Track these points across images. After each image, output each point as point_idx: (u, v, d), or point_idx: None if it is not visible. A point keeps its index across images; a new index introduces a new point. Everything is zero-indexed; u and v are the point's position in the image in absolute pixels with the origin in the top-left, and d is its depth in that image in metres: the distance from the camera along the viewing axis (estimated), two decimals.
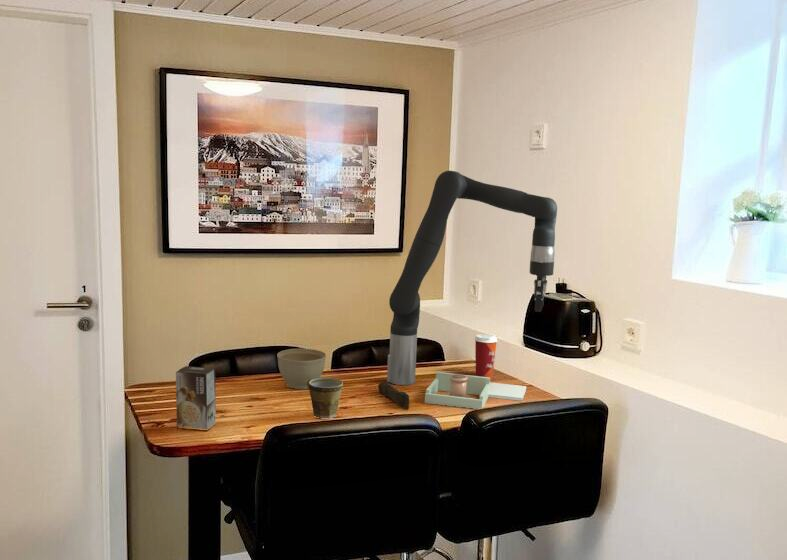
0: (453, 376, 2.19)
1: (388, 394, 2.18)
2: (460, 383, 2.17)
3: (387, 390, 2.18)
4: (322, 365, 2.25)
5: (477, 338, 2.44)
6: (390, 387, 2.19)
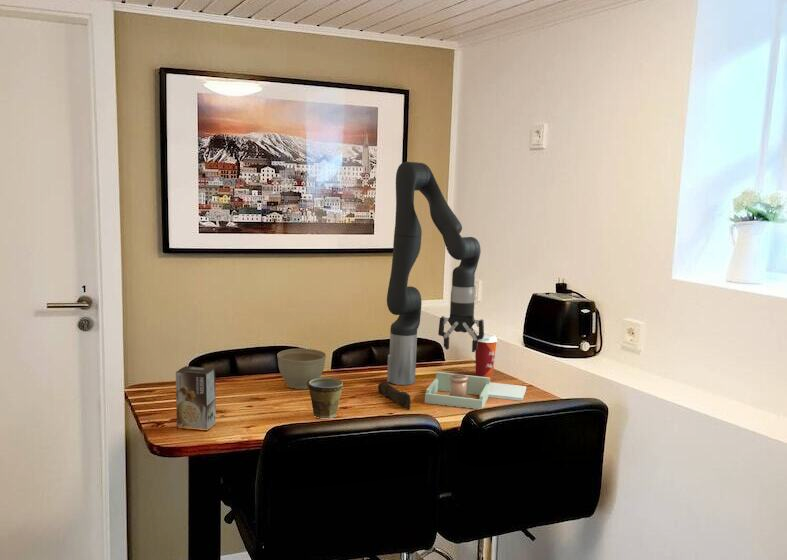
0: (453, 376, 2.19)
1: (388, 394, 2.18)
2: (460, 383, 2.17)
3: (387, 390, 2.18)
4: (322, 365, 2.25)
5: None
6: (390, 387, 2.19)
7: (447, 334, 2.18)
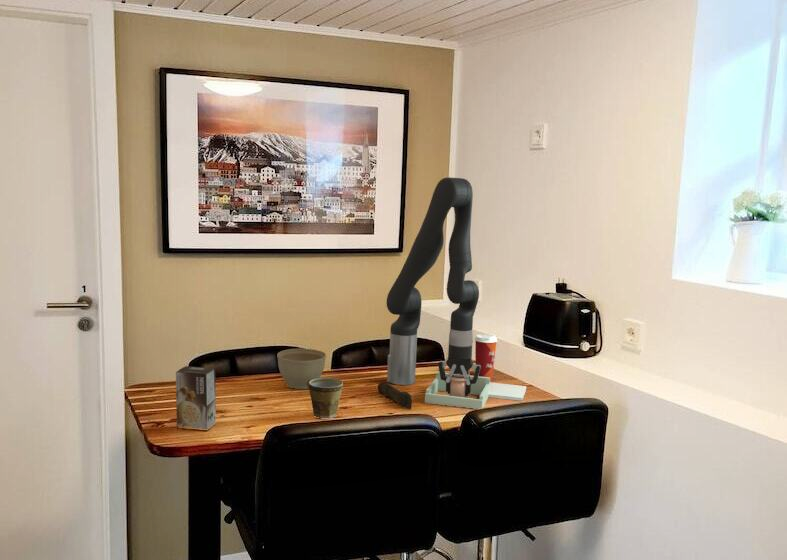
0: (453, 376, 2.19)
1: (389, 394, 2.18)
2: (460, 383, 2.17)
3: (388, 390, 2.18)
4: (322, 365, 2.25)
5: (477, 338, 2.44)
6: (390, 387, 2.19)
7: (449, 378, 2.19)
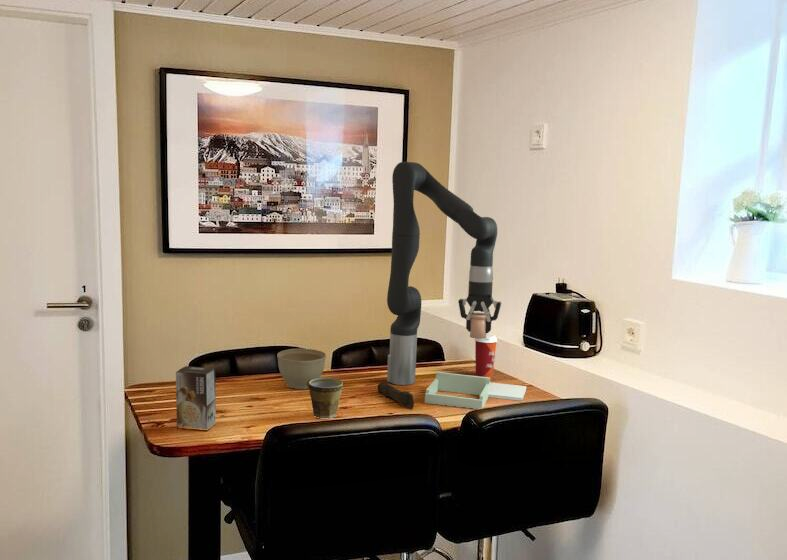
0: (473, 313, 2.19)
1: (389, 394, 2.18)
2: (480, 320, 2.17)
3: (388, 390, 2.18)
4: (322, 365, 2.25)
5: None
6: (391, 387, 2.19)
7: (469, 316, 2.20)
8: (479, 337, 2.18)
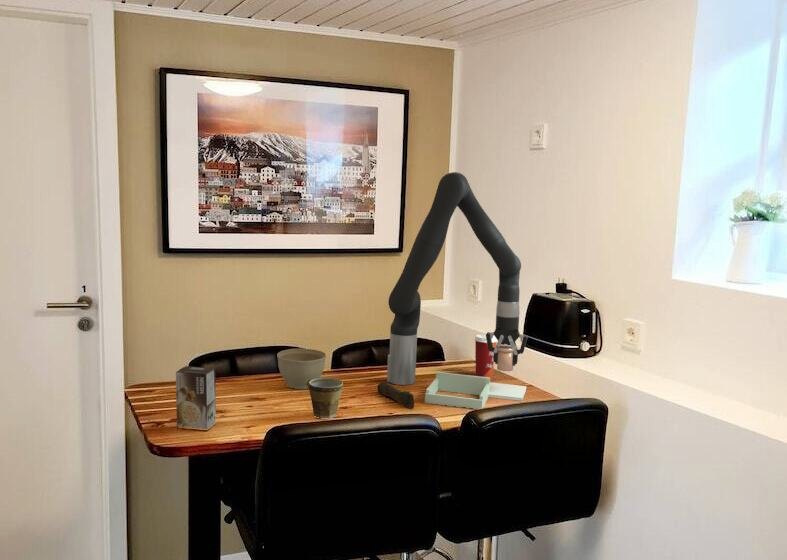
0: (500, 347, 2.27)
1: (389, 394, 2.18)
2: (508, 353, 2.25)
3: (388, 390, 2.18)
4: (322, 365, 2.25)
5: (477, 338, 2.44)
6: (391, 387, 2.19)
7: (496, 349, 2.27)
8: (506, 370, 2.25)
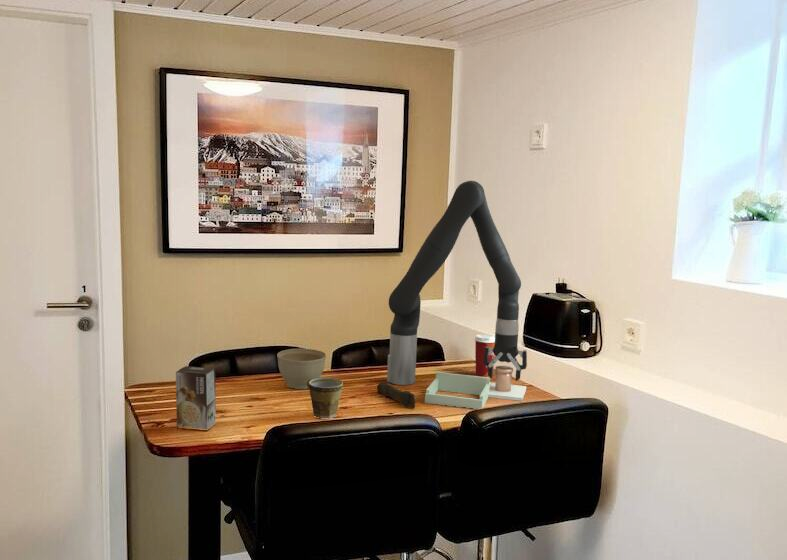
0: (499, 367, 2.28)
1: (390, 394, 2.18)
2: (506, 374, 2.26)
3: (388, 390, 2.18)
4: (322, 365, 2.25)
5: (477, 338, 2.44)
6: (391, 387, 2.19)
7: (491, 364, 2.28)
8: (504, 390, 2.27)
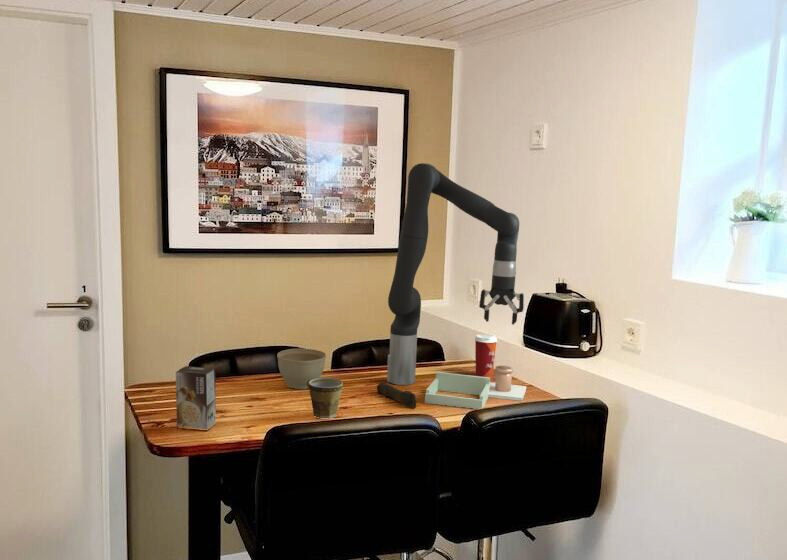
0: (499, 367, 2.28)
1: (390, 394, 2.18)
2: (506, 374, 2.26)
3: (389, 390, 2.18)
4: (322, 365, 2.25)
5: (477, 338, 2.44)
6: (391, 387, 2.19)
7: (488, 306, 2.25)
8: (504, 390, 2.27)
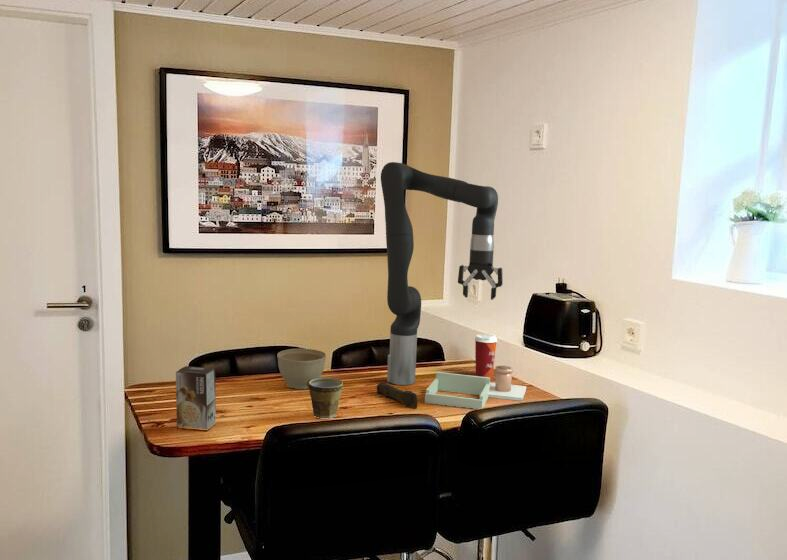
0: (499, 367, 2.28)
1: (390, 394, 2.18)
2: (506, 374, 2.26)
3: (389, 390, 2.18)
4: (322, 365, 2.25)
5: (477, 338, 2.44)
6: (391, 387, 2.19)
7: (466, 282, 2.22)
8: (504, 390, 2.27)
